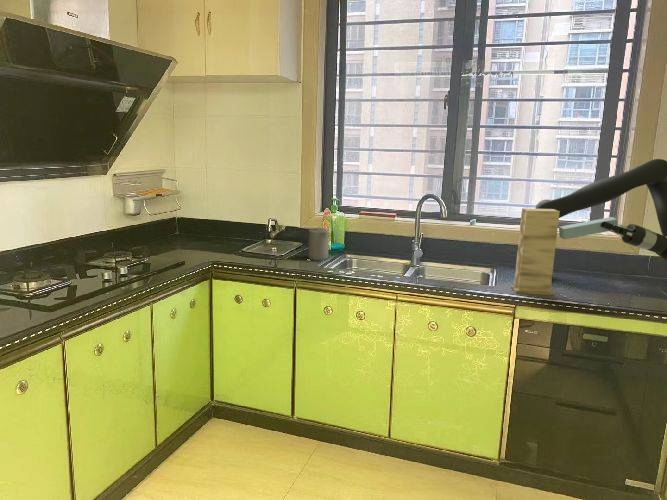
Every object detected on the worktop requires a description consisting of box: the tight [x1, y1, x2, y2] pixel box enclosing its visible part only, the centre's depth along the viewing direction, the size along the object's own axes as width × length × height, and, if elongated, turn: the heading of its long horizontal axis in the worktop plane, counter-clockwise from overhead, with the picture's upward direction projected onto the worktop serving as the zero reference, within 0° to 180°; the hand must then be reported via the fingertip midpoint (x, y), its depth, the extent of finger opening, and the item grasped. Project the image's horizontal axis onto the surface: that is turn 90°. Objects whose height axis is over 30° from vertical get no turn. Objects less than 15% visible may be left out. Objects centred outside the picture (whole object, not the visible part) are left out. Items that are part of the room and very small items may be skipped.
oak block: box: [510, 207, 560, 296], centre depth 202 cm, size 8×14×32 cm, turn 87°
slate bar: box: [558, 216, 619, 240], centre depth 197 cm, size 4×20×4 cm, turn 91°
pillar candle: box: [307, 227, 330, 261], centre depth 251 cm, size 10×10×15 cm
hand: (598, 222), depth 196 cm, fingers closed on slate bar, 4 cm apart
